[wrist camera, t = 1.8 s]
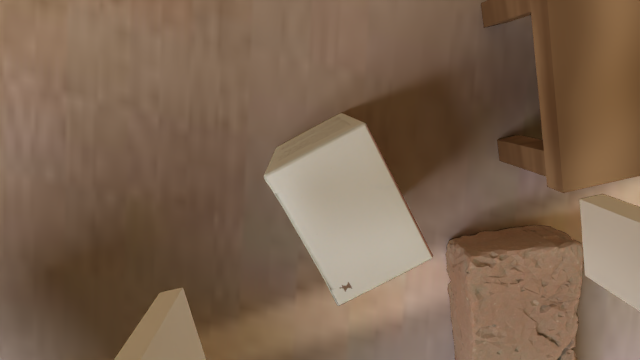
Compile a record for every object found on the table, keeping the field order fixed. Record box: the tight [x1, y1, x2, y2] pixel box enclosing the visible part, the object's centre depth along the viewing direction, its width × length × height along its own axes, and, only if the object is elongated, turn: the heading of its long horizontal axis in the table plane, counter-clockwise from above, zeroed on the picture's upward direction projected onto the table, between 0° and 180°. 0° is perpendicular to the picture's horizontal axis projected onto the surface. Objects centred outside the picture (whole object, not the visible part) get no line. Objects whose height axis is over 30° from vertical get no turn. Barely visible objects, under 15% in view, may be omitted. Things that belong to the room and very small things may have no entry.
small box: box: [264, 113, 433, 306], centre depth 25 cm, size 8×6×10 cm
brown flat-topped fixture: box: [481, 0, 640, 193], centre depth 25 cm, size 12×12×8 cm
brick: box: [446, 225, 583, 360], centre depth 32 cm, size 17×8×5 cm, turn 8°
